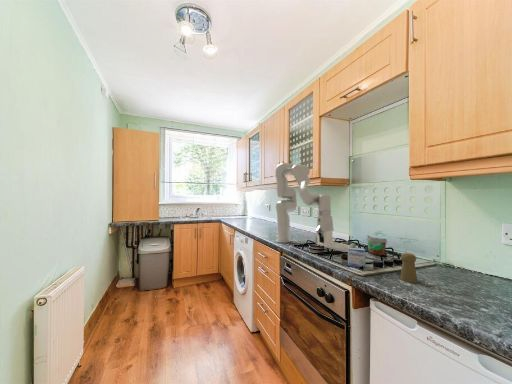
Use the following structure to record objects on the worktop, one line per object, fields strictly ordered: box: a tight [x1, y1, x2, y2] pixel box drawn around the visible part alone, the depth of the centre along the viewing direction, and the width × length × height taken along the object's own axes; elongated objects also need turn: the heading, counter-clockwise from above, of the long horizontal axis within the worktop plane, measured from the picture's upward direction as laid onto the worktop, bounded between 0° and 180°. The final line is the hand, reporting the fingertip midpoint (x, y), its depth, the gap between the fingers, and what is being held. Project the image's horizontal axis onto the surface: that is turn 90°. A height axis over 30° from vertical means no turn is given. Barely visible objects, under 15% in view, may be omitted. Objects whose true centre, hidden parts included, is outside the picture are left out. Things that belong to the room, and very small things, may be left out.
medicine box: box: [347, 247, 366, 269], centre depth 112 cm, size 8×4×9 cm, turn 68°
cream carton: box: [316, 231, 334, 246], centre depth 143 cm, size 5×8×9 cm, turn 30°
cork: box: [399, 252, 418, 284], centre depth 93 cm, size 6×6×11 cm
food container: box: [365, 235, 388, 257], centre depth 134 cm, size 12×6×10 cm, turn 25°
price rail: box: [315, 236, 356, 253], centre depth 147 cm, size 30×2×6 cm, turn 30°
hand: (325, 241), depth 143 cm, fingers closed on cream carton, 5 cm apart
